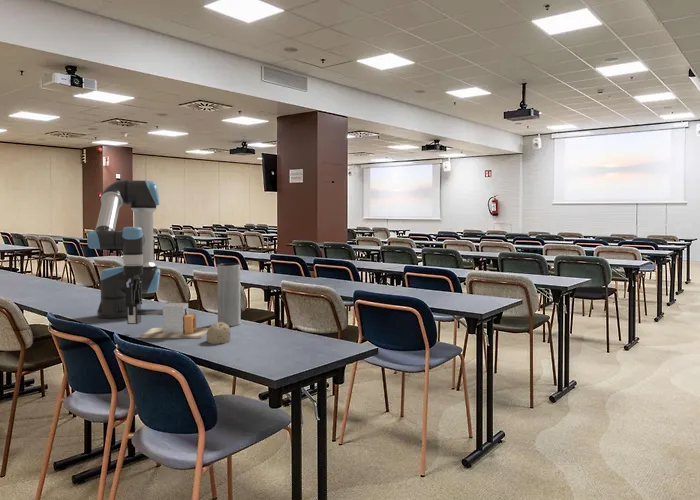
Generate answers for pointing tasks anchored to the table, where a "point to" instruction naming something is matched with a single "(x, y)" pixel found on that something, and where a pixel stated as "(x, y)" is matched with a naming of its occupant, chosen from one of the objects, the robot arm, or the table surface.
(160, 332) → the board
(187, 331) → the block
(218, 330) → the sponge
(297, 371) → the table surface
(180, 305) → the grey upright block
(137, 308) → the shaft
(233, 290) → the vase
